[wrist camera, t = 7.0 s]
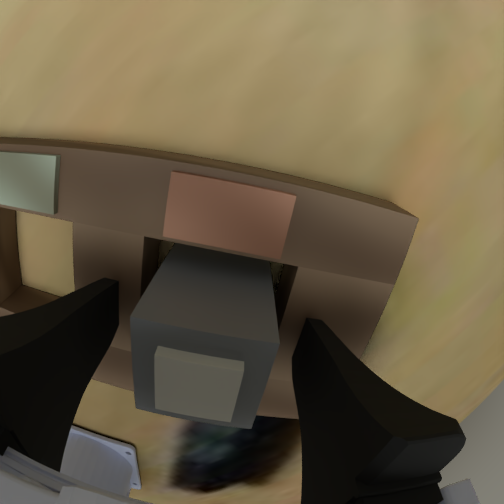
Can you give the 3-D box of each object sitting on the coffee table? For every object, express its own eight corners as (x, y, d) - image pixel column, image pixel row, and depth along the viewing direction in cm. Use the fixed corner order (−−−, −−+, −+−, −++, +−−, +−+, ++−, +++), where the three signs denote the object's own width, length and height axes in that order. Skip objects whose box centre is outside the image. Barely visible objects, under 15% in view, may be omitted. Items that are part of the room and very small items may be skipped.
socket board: (318, 387, 16) (326, 424, 14) (-12, 305, 15) (-35, 327, 12) (392, 202, 12) (422, 220, 10) (-26, 137, 11) (-60, 144, 8)
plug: (251, 329, 15) (251, 438, 9) (170, 315, 15) (133, 416, 9) (268, 255, 13) (280, 353, 8) (177, 238, 13) (125, 324, 7)
